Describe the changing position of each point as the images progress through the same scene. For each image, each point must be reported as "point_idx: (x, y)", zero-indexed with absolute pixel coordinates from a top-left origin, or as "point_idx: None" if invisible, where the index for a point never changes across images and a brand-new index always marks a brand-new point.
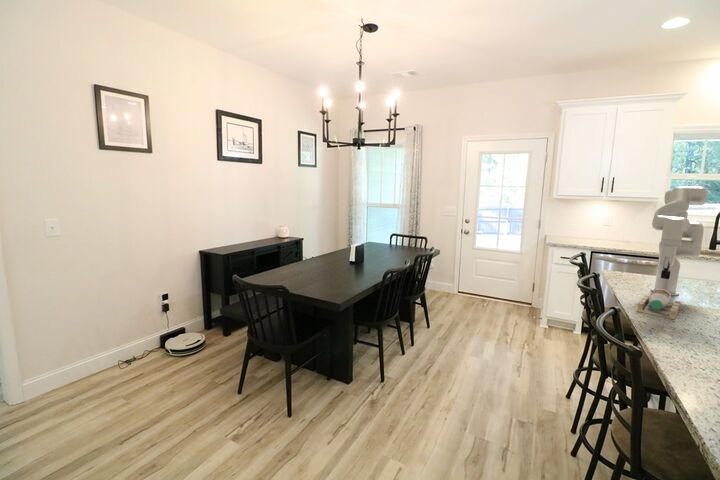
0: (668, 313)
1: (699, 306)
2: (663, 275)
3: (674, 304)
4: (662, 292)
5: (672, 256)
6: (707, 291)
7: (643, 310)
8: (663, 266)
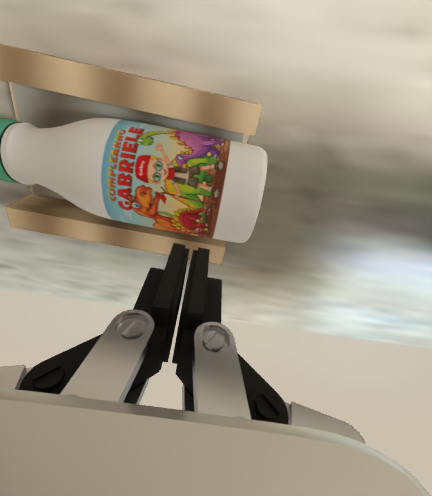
0: None
1: (317, 305)
2: (146, 279)
3: (134, 235)
4: (148, 206)
5: None
6: None
7: (13, 83)
8: (72, 387)
